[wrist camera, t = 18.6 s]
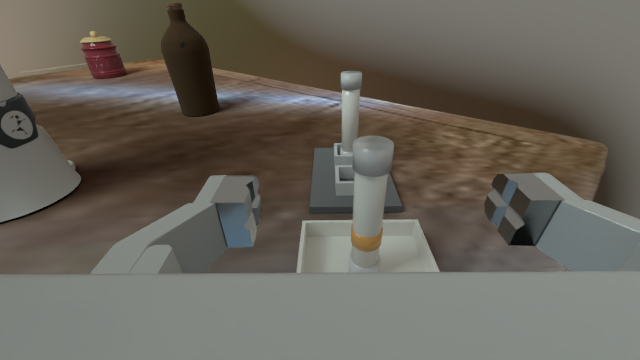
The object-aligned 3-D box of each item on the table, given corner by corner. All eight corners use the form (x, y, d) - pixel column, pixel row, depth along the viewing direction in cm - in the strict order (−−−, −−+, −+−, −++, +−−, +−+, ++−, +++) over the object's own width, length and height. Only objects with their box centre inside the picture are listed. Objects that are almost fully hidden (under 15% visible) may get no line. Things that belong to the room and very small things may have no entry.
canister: (91, 76, 126) (72, 31, 116) (125, 71, 132) (109, 29, 123) (94, 80, 117) (73, 32, 108) (129, 75, 124) (112, 30, 114)
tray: (294, 326, 24) (292, 308, 23) (303, 236, 33) (302, 220, 32) (448, 327, 24) (455, 309, 22) (414, 236, 33) (417, 219, 32)
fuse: (340, 164, 46) (341, 75, 39) (339, 156, 49) (340, 71, 41) (358, 164, 46) (363, 75, 39) (357, 155, 49) (360, 70, 41)
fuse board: (309, 213, 37) (308, 194, 36) (315, 152, 52) (314, 137, 51) (401, 212, 37) (404, 193, 35) (379, 151, 52) (380, 136, 50)
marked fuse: (349, 283, 27) (354, 152, 20) (347, 260, 30) (351, 135, 22) (380, 284, 27) (397, 152, 20) (376, 260, 29) (389, 135, 22)
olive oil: (229, 109, 77) (207, 1, 64) (193, 120, 70) (160, 2, 57) (208, 103, 83) (183, 3, 70) (173, 112, 76) (139, 3, 63)
